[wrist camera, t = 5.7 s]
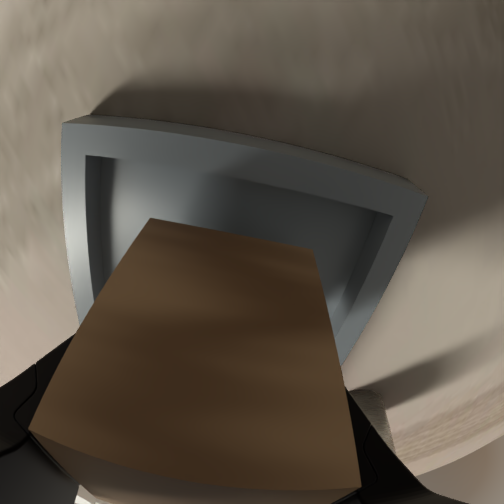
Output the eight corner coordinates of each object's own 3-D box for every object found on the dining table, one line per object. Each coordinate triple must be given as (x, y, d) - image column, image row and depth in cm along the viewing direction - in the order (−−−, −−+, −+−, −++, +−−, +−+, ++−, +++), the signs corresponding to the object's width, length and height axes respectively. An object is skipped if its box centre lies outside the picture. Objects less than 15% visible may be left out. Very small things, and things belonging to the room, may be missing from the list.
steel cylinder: (394, 390, 17) (418, 483, 11) (363, 423, 20) (377, 504, 14) (332, 388, 17) (347, 494, 11) (307, 423, 19) (313, 512, 13)
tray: (406, 178, 10) (428, 196, 9) (273, 437, 21) (274, 457, 19) (88, 114, 9) (62, 123, 8) (117, 408, 20) (111, 428, 18)
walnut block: (312, 249, 9) (361, 486, 3) (272, 355, 12) (273, 528, 6) (150, 217, 9) (27, 429, 3) (148, 332, 12) (96, 498, 6)
